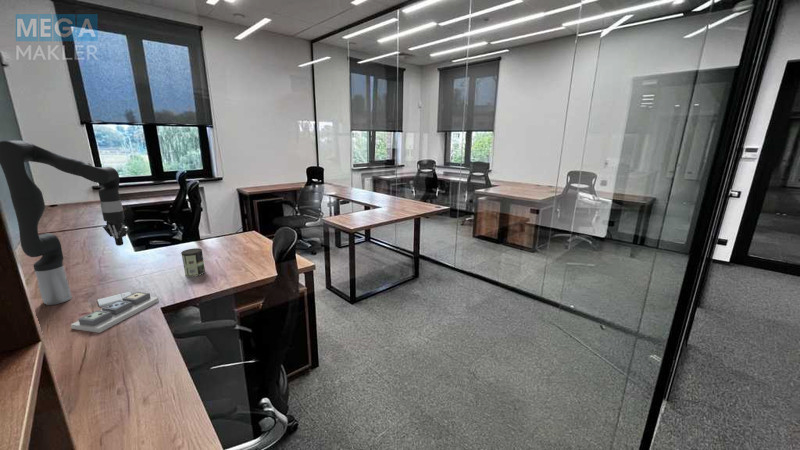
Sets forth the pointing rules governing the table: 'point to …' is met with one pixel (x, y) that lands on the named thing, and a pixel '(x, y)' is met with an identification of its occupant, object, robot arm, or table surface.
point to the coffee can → (193, 262)
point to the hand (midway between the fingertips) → (120, 245)
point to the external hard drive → (112, 299)
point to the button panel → (115, 313)
